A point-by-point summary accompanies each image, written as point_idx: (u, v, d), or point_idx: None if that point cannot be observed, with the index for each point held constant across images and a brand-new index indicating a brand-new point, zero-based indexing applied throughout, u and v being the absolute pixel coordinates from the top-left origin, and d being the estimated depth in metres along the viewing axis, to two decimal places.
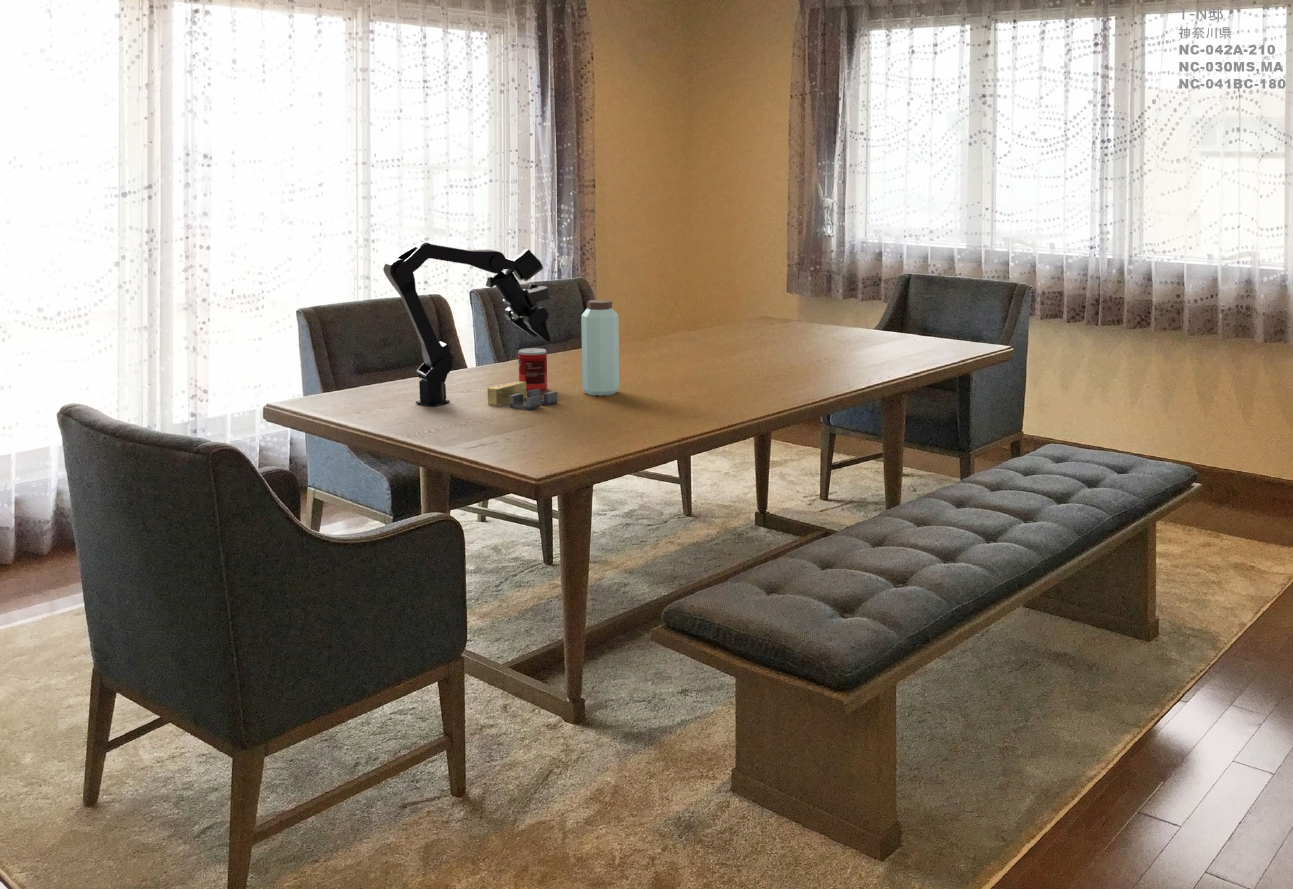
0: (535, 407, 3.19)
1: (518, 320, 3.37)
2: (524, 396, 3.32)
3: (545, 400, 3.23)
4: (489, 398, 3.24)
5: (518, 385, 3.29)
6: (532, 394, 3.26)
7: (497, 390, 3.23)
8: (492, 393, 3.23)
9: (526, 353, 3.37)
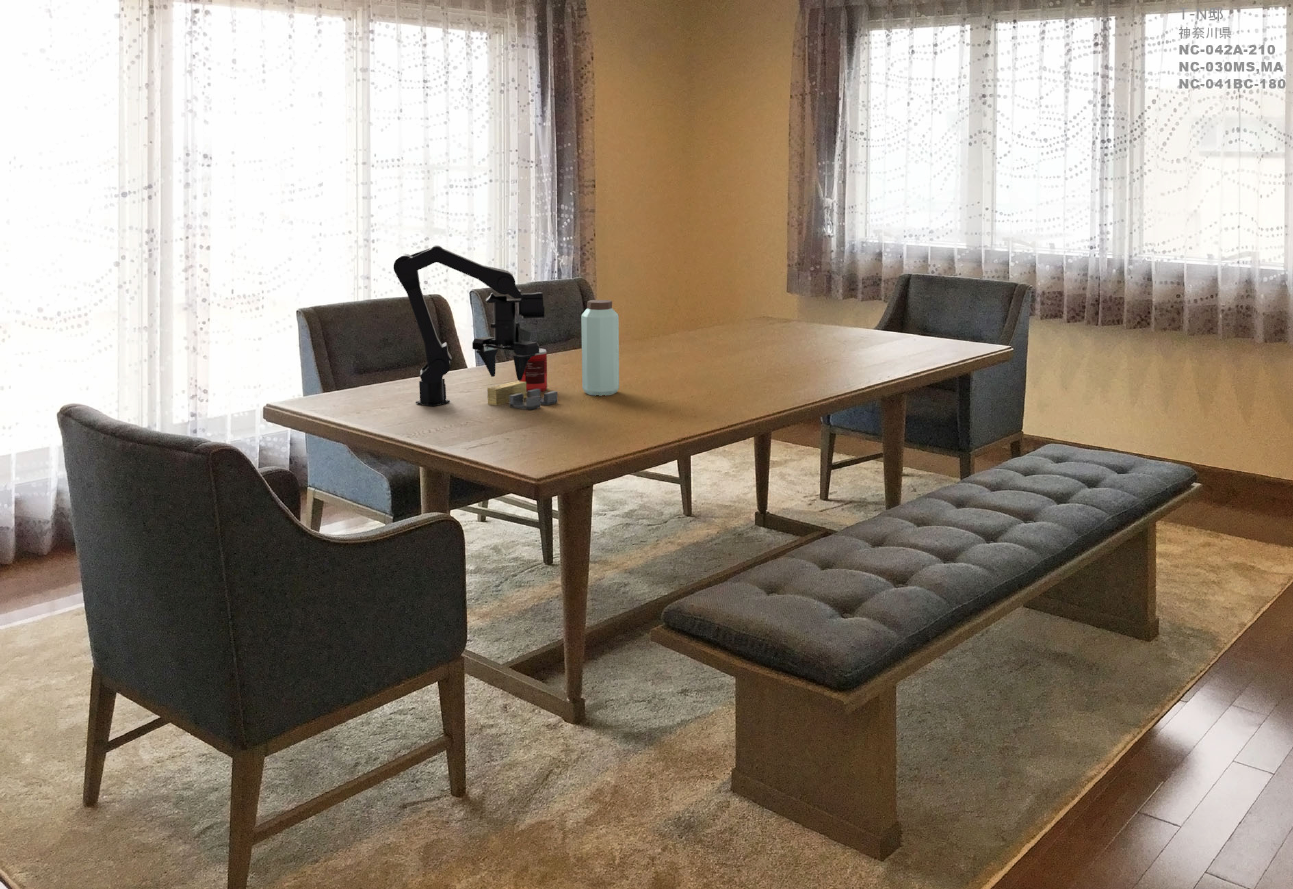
0: (535, 407, 3.19)
1: (487, 352, 3.27)
2: (524, 396, 3.32)
3: (545, 400, 3.23)
4: (489, 398, 3.24)
5: (518, 385, 3.29)
6: (532, 394, 3.26)
7: (497, 390, 3.23)
8: (492, 392, 3.23)
9: None
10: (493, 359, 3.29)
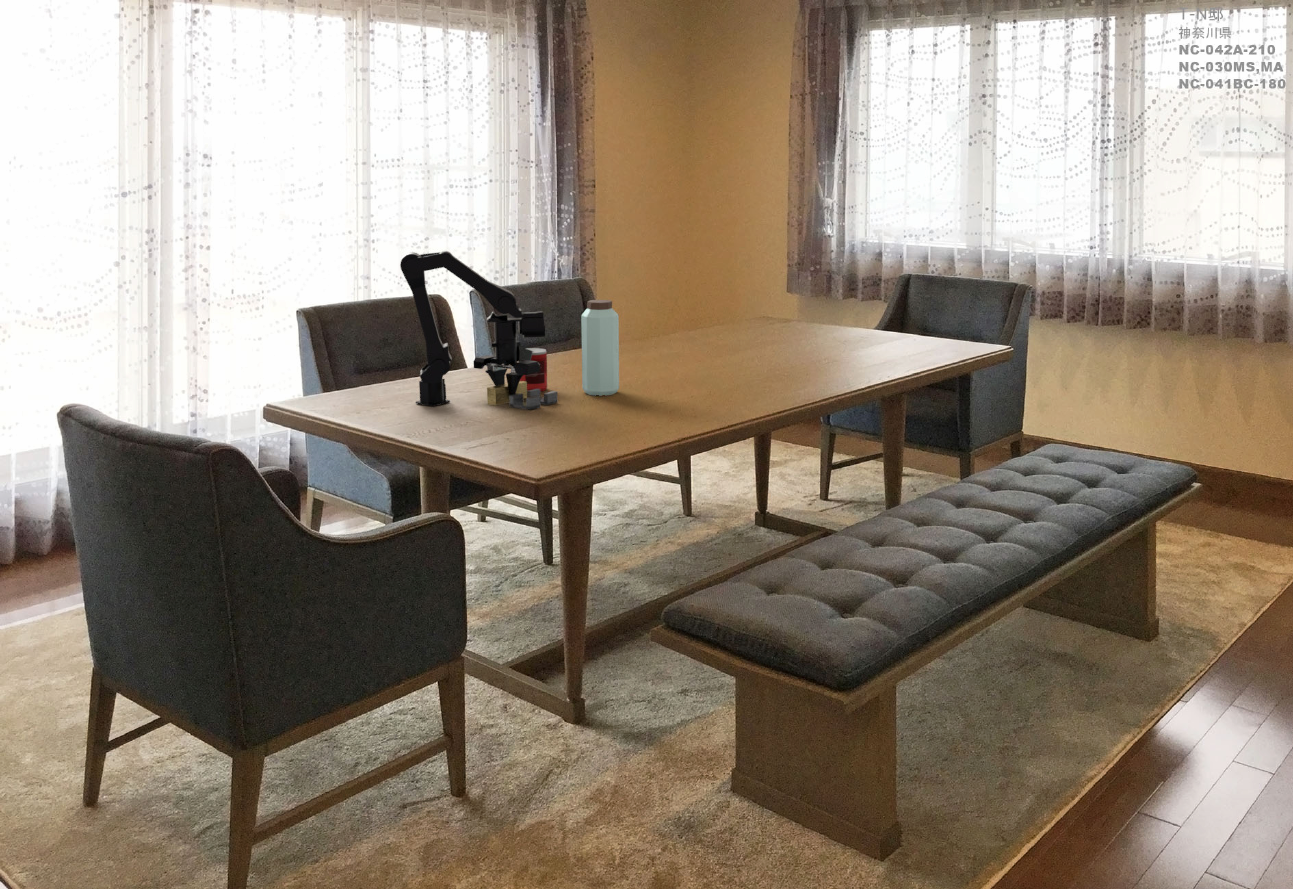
0: (535, 407, 3.19)
1: (496, 372, 3.27)
2: (525, 396, 3.32)
3: (545, 400, 3.23)
4: (488, 398, 3.24)
5: (518, 385, 3.29)
6: (532, 394, 3.26)
7: (496, 390, 3.23)
8: (491, 392, 3.23)
9: None
10: (502, 379, 3.29)
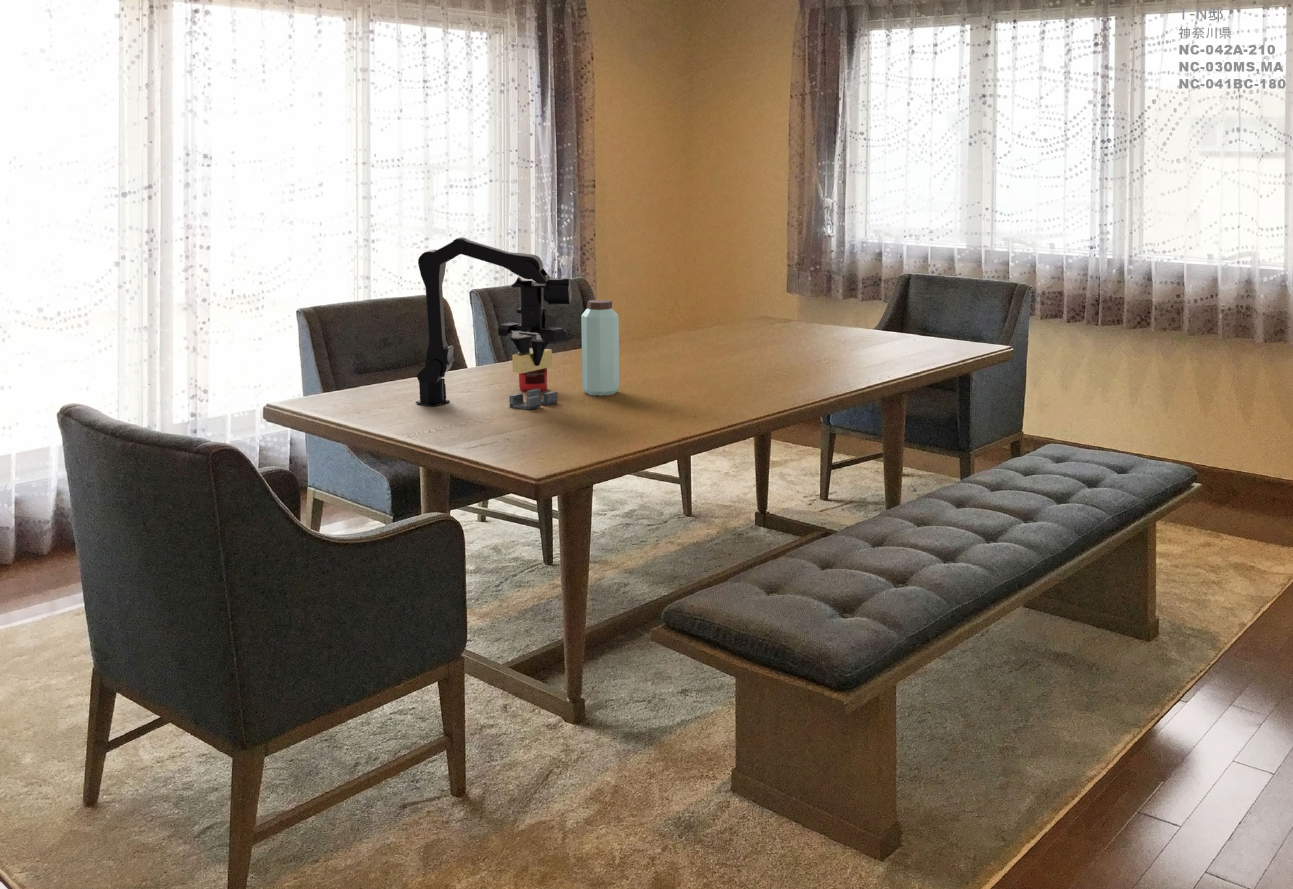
0: (535, 407, 3.19)
1: (521, 340, 3.20)
2: (550, 364, 3.25)
3: (545, 400, 3.23)
4: (514, 365, 3.17)
5: (544, 352, 3.22)
6: (532, 394, 3.26)
7: (522, 357, 3.16)
8: (517, 359, 3.16)
9: None
10: (527, 346, 3.22)
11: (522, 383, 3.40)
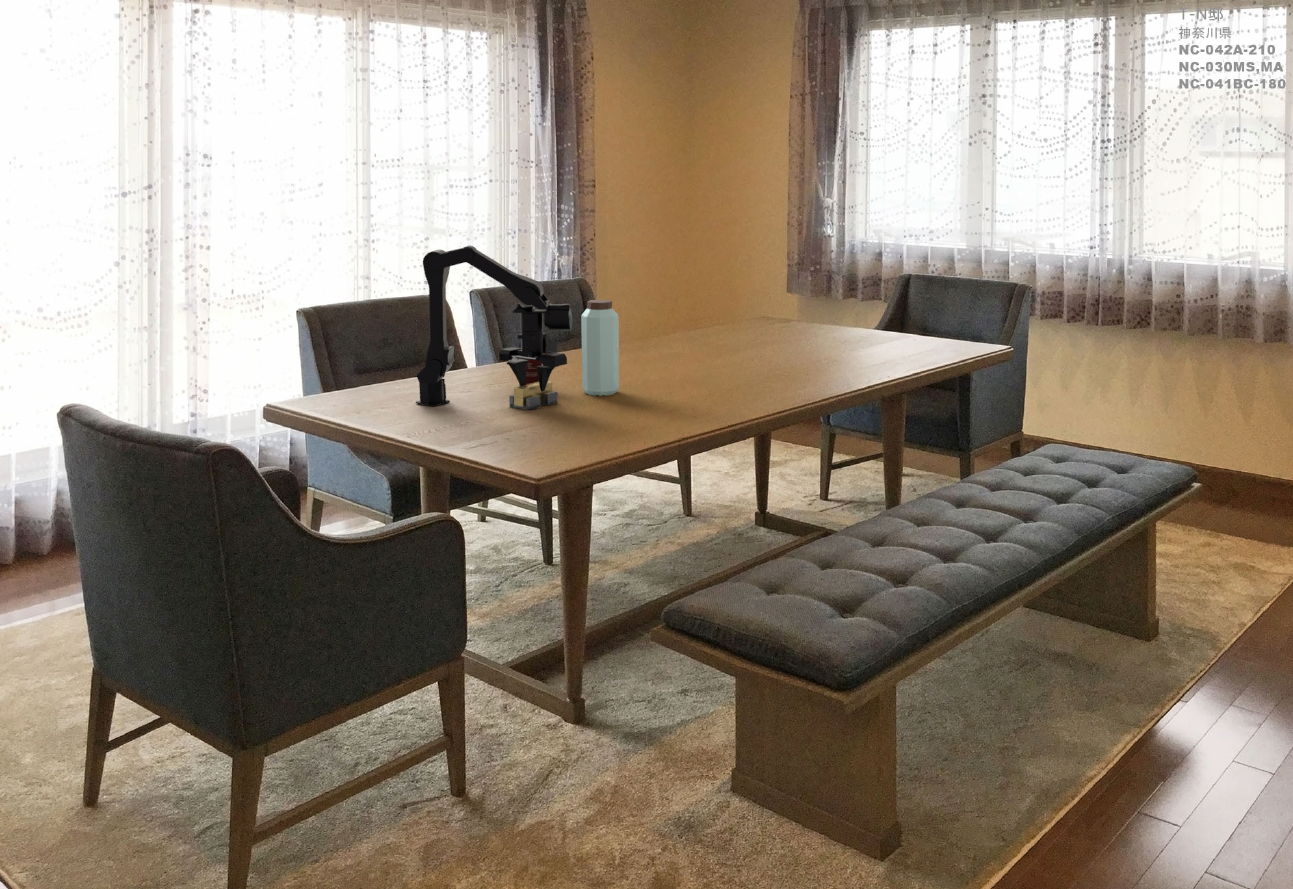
0: (535, 407, 3.19)
1: (517, 364, 3.22)
2: None
3: (545, 400, 3.23)
4: (515, 398, 3.19)
5: None
6: None
7: (524, 390, 3.18)
8: (518, 392, 3.18)
9: None
10: (524, 371, 3.24)
11: None
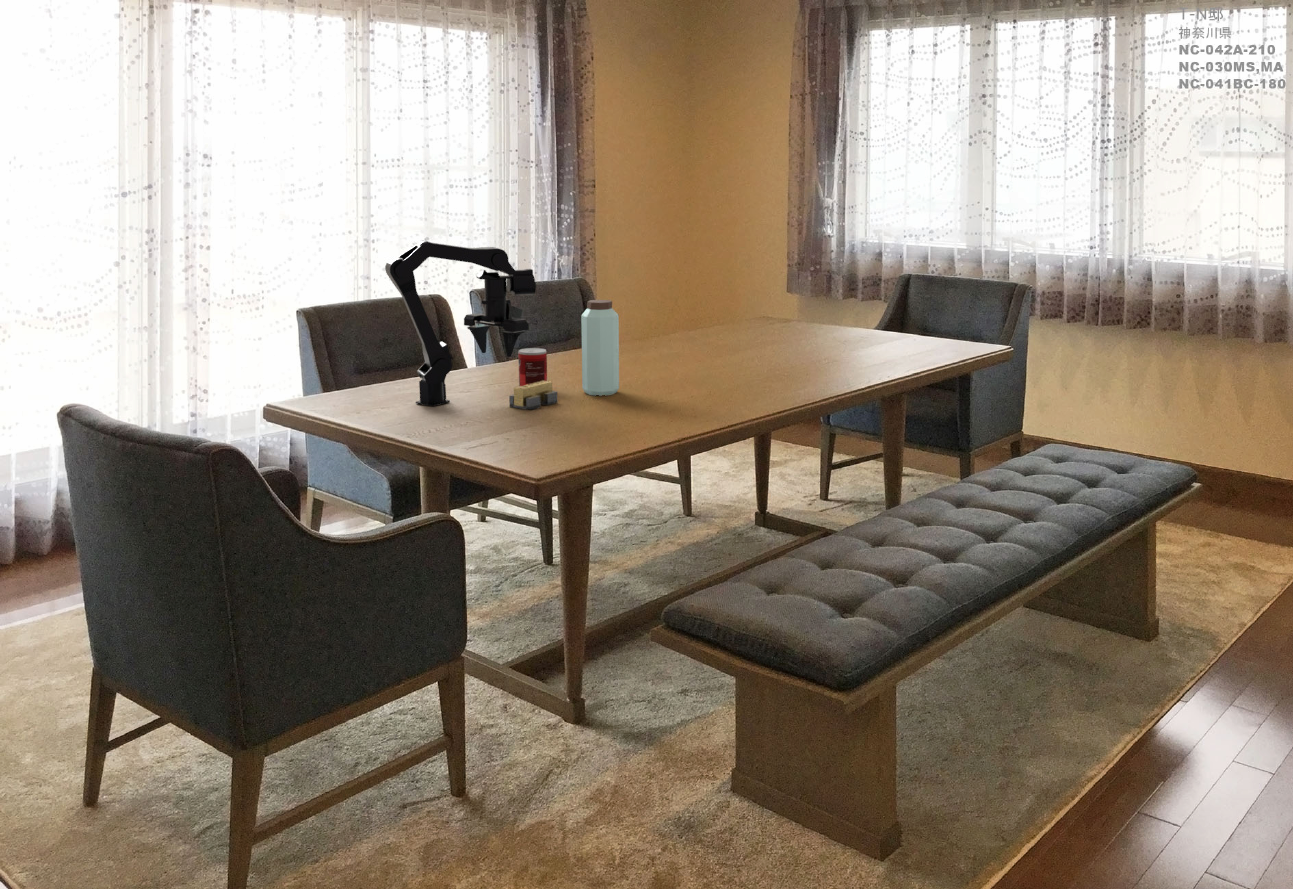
0: (535, 407, 3.19)
1: (478, 329, 3.30)
2: None
3: (545, 400, 3.23)
4: (515, 398, 3.19)
5: (544, 385, 3.24)
6: None
7: (524, 390, 3.18)
8: (518, 392, 3.18)
9: (526, 353, 3.37)
10: (484, 336, 3.32)
11: (522, 383, 3.40)
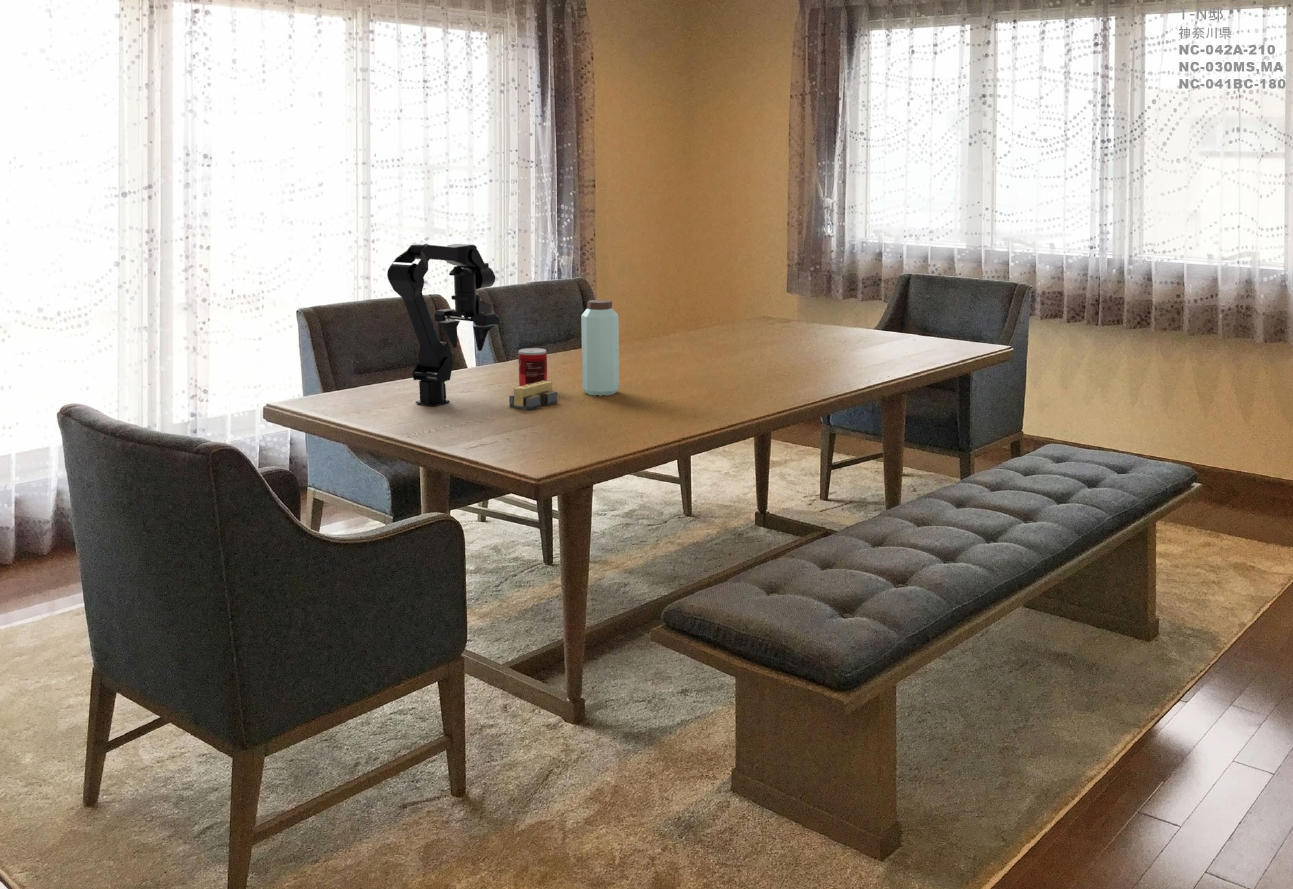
0: (535, 407, 3.19)
1: (448, 324, 3.37)
2: None
3: (545, 400, 3.23)
4: (515, 398, 3.19)
5: (544, 385, 3.24)
6: None
7: (524, 390, 3.18)
8: (518, 392, 3.18)
9: (526, 353, 3.37)
10: (455, 330, 3.39)
11: (522, 383, 3.40)
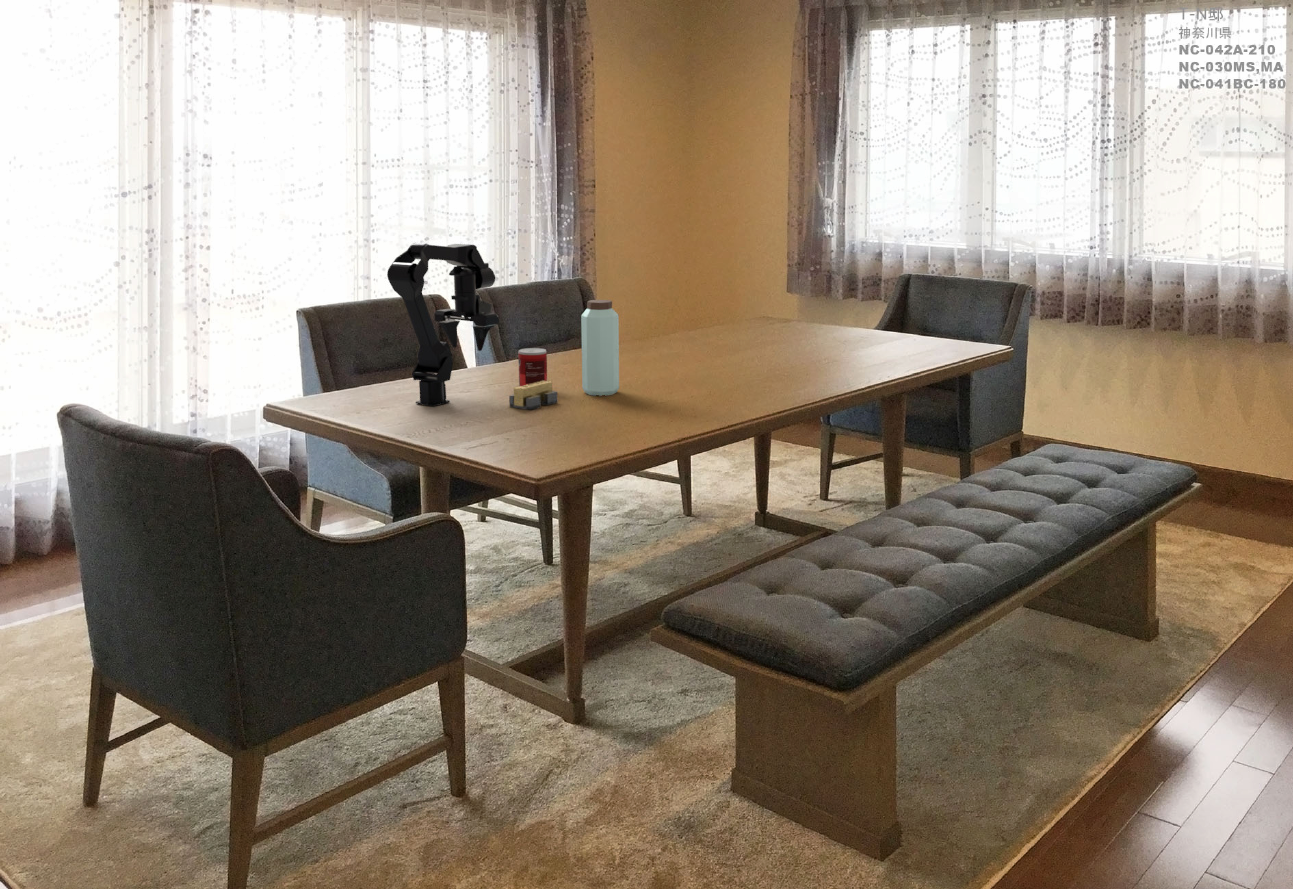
0: (535, 407, 3.19)
1: (448, 324, 3.37)
2: None
3: (545, 400, 3.23)
4: (515, 398, 3.19)
5: (544, 385, 3.24)
6: None
7: (524, 390, 3.18)
8: (518, 392, 3.18)
9: (526, 353, 3.37)
10: (455, 330, 3.39)
11: (522, 383, 3.40)
